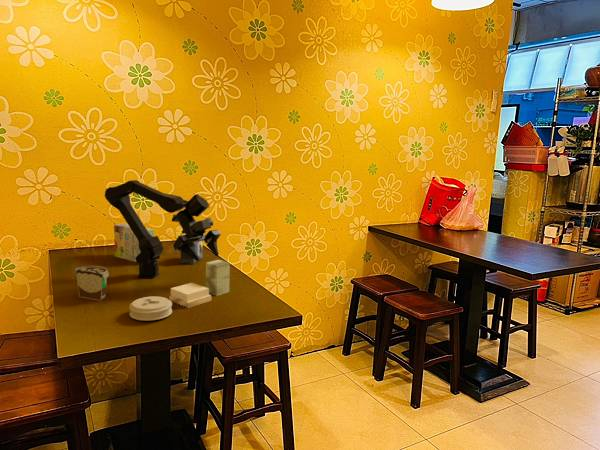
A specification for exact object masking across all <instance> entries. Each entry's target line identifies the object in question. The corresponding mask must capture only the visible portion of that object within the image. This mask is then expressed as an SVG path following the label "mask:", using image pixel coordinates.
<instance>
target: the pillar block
mask: <svg viewBox="0 0 600 450" xmlns="http://www.w3.org/2000/svg"><path fill="white" fill-rule="evenodd" d="M230 265H231V262H228V261H225V260H223V259H222V260H221V259H216V260H215V259H214V260H211V261H207V262H205V287H206V288H209V294H210V295H214V296H217V297H218V296H220V295H223V294H226V293H230V281H231V280H230V279H231V278H230V277H231V276H230V273H231V271H230V269H231V268H230V267H231V266H230Z"/></svg>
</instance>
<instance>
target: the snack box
mask: <svg viewBox="0 0 600 450" xmlns="http://www.w3.org/2000/svg"><path fill="white" fill-rule="evenodd" d="M145 228H146V229H147V231H148V232H149V234H150V235H151V236H153V237H154V236H155V229H152V228H148V227H145ZM113 232H114V234H113V235H114V236H113V237H114V240H113V241H114V257H115V258H120V259H122V260H126V261H130V262H134V263H137V261H136V259H135V258H136V257H137V256H138V255H139V254H140V253H141V252H140V249H139V241H138V239H137V238H136V236H135V235H134V233H133V231H132V230H131V228H130V227H129V225H128V224H127V223H118V224H113Z"/></svg>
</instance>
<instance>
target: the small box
mask: <svg viewBox="0 0 600 450" xmlns="http://www.w3.org/2000/svg"><path fill="white" fill-rule="evenodd" d="M203 243H204V241H199V242H193V243H192V244H193V248H194V249H195V251H196V253H197V255H198V257H199V261H201V260H203V257H204V256H203V254H204V253H203V245H204V244H203ZM199 261H196V260H195V259H193V258H192V257H190V256H189V255H187V254H185V253H183V252H181V251H180V264H186V265H194V264H196V263H197V262H199Z"/></svg>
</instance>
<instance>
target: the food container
mask: <svg viewBox="0 0 600 450" xmlns="http://www.w3.org/2000/svg"><path fill="white" fill-rule="evenodd" d="M74 275H76V282H77V285H76V286H77V291H78V298H84V299H88V300H94V301H97V302H102V301H104V300H105V299H106V295H107V281H108V277H109V276H110V273H109V271H108V268H107V267H105V266H102V265H100V266H99V265H86V266H79V267H75V270H74Z"/></svg>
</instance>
